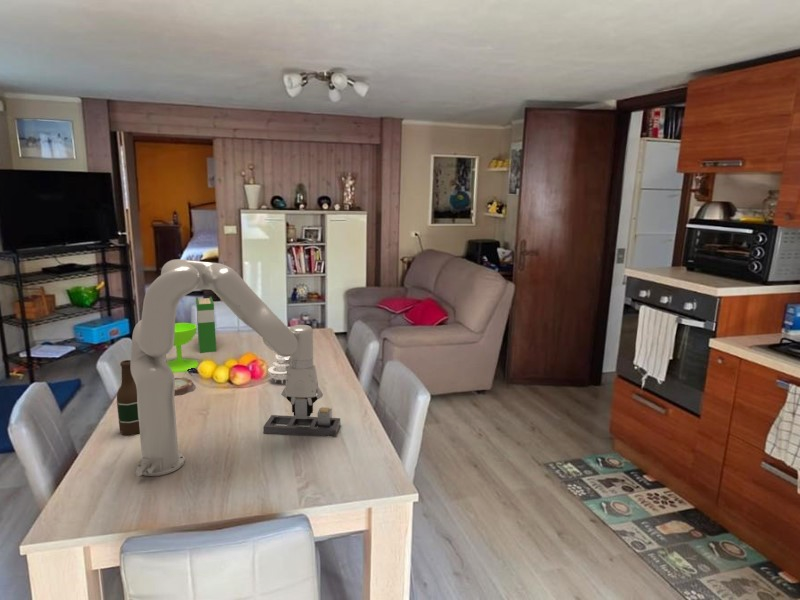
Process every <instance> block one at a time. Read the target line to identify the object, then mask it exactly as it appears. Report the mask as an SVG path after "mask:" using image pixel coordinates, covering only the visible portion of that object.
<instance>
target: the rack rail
mask: <svg viewBox="0 0 800 600" xmlns="http://www.w3.org/2000/svg"><path fill="white" fill-rule="evenodd" d="M340 428H341V418H339V417H332V428H325V427H318V416H310V417H308V419H295V416H294V415H278V414H277V415H276V414H275V415H274V414H271V415H270V417H269V418H268V420H267V421H266V422H265V424H264V425H263V434H267V435H290V436H306V437H307V436H308V437H310V436H312V437H327V436H332V437H331V438H336V437H337V435H338V432H339V430H340Z"/></svg>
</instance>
